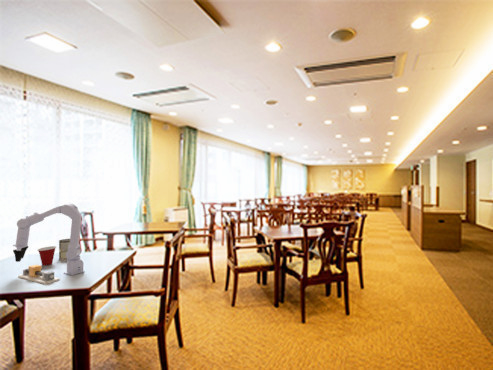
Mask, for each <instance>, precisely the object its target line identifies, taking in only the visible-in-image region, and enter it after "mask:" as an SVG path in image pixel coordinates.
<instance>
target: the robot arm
mask: <svg viewBox="0 0 493 370" xmlns="http://www.w3.org/2000/svg"><path fill="white" fill-rule="evenodd" d="M80 212H81V211H79V208H78V207H77V205H75V204H74V203H68V204H63V205H58V206H56V207H54V208H51V209H49V210H47V211H44V212H34V213H33V214H32V215H29V216H28V215H27V216H25V218H20V219H19V220H17V222H16V226H17V233H16V239H15V240H16V241H15V244H12V247H15V248H16V249H13V250H12V252H13V254H14V257H15V258H14V259H15V260H14V261H15V262H17V263H19V262H21V261H22V259H24V257H25V254H26V252H27V250H28V248H29V238H30V229H31V226H34V225H36V224H38V223H40V222H43V221H44V220H45V218H47V217H50V216H52V215H56V214H62V215H64V216H67V217H68V218H70V219H71V227H70V237H69V239H70V244H69V247H68V251H67V252H66V258H67V260H66V271H63V274H66V275H69V276H75V275H78V274H82V273H85V270H84V261H83V260H82V259H81V256H80V255H81V253H82V249H81V244H80V236H81V226H82V214H81V213H80Z"/></svg>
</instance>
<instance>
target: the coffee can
mask: <svg viewBox="0 0 493 370" xmlns="http://www.w3.org/2000/svg"><path fill="white" fill-rule="evenodd" d="M69 244H70V238H65V239H64V238H63V239H62V238H61V239H59V240H58V246H59V247H58V254H59V255H58V257H59V258H58V260H59V261H60V260H61V261H67V258H66V252H67V251H68V247H69Z"/></svg>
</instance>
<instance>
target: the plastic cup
mask: <svg viewBox="0 0 493 370" xmlns="http://www.w3.org/2000/svg"><path fill="white" fill-rule="evenodd" d="M56 248H57V246H56V245H53V246H45V247H41V248H37V251H38V254H39V258H40V261H41V266H50V265H52V264H53V260H54V256H55V251H56Z"/></svg>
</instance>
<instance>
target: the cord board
mask: <svg viewBox="0 0 493 370" xmlns="http://www.w3.org/2000/svg"><path fill="white" fill-rule="evenodd" d="M28 269H29V268H26V269H23V270H22V274H19V275H17V276H18V277H17V278H19V279H23V280H27V281H30V282H34V283H37V284H41V285H47V284H52V283H55V282H58V281H60V280H61V279H60V277H55V272H54V271H46V272H43V271H41V272H40V271H36V272H35V275H39V276H35V277H33V276H29V270H28Z"/></svg>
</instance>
